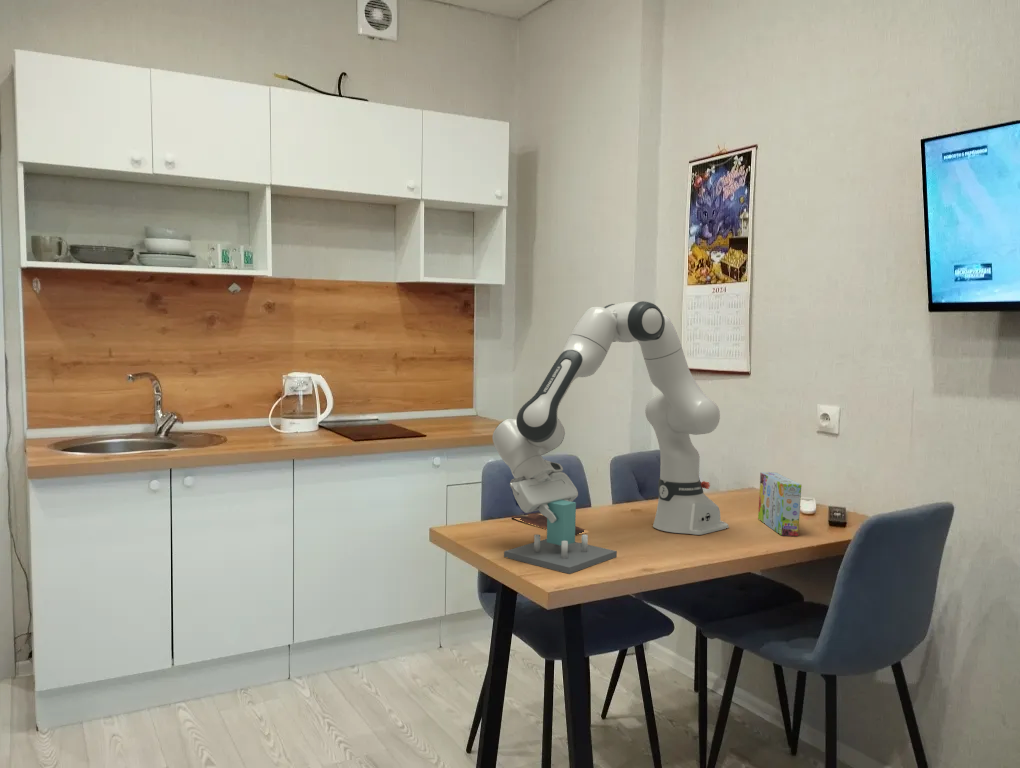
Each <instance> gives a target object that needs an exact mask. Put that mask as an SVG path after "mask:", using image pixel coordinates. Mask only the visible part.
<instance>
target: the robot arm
mask: <svg viewBox="0 0 1020 768" xmlns="http://www.w3.org/2000/svg"><path fill="white" fill-rule="evenodd" d="M614 342H617V343H632V342H638V344H639V345H640V350H641V354H642V357H643V360H644V363H645V367H646V370H647V374H648V376H649V378H650V382H651V383H652V385H653V386H655V388H657V389H658V390H659V391H660V392H661V393H660V394H656V395H653V396H652V397H650V399H648V401H647V402H646V406H645V418H646V419H647V422H649V424H650V425H651V427H652V428H653V430H654V432H655V435H656V439H657V443H658V446H659V454H660V455H659V456H660V459H659V461H660V465H659V466H660V467H659V468H660V469H659V470H660V473H659V474H660V475H659V476H660V477H659V478H658V485H657V486H658V487H657V492H658V501H657V508H656V513H655V517H654V521H653V523H652V524H653V525H652V527H653V528H655V529H657V530H659V531H662V532H663V531H664V532H667V533H673V534H674V533H675V534H690V535H696V536H701V535H706V534H710V533H714V532H717V531H721V530H726V528H727V529H728V528H729V529H730V527H729V524H728V523H727V522H725V521H723V520H721V511H720V507H719V506H718V505H717V504H716V502H714V501H713V500H712V499H710V498H709V497H708V496H707V495H706V494H705V493H704V489H706V490H708V489H710V487H711V484H710V482H708V481H705V480H703V481H700V461H701V459H700V453H699V451H698V450H697V448H695V446H694V445H693V443H692V442H693V441H692V440H691V436H690V435H693V436H697V435H706V434H710V433H712V432H714V431H715V430H716V429H717V427H718V426H719V423H720V419H721V413H720V408H719V405H717V403H715V402H714V400H712V399H711V398H710V397H709V396H707V394H706V393H705V392H704V391H703V390H702V388H701V387H700V385H699V384H698V383H697V381H696V379H695V378H694V376H693V375H692V373H691V370H690V368H689V365H688V362H687V359H686V356H685V353H684V350H683V346H682V343H681V340H680V337H679V335H678V332H677V331H676V329H675V326H674V324H673V322H672V320H671V319H670V318H669V317H668V316H667V315H666V314H663V312H662V310H661V308H659V306H657V305H656V304H655V303H652V302H650V301H645V300H644V301H624V302H619V303H611V304H608V305H606V306H592V307H589V308H588V309H587V310H585V312H584V313H583V314H582V316H581V317H580V318H579V320H578V321H577V323H576V324H575V325H574V328H573V329H572V330H571V333H570V334H569V336H568V339H567V340H566V342H565V344H564V346H563V348H562V350H561V353H560V354H559V356H558V357H557V359H556V360H555V362H554V363H553V365H552V367H551V368H550V370H549V372H548V374H547V375H546V376H545V377H544V380H543V382H542V383H541V385H540V386H539V389H537V391H536V393H535V394H534V396H532V397H531V398H529V400H528V401H527V402H525V404H523V405H522V406H521V408H520V409H519V411H518V413H517V415H516V418H507V419H504V420H502V421H501V422H500V423H498V424H497V426H496V427H495V429H494V431H493V433H492V436H491V437H492V442H493V445H494V447H495V449H496V451H497V453H498V454H499V456H500V458H501V460H502V461H503V462H504V464H505V465H506V466H507V467H508V468H509V469H510V472H511V474H512V477H513V478H512V479H511V480H510V482H509V486H510V488H511V490H512V494H513V496H514V499H515V501H516V503H517V504H518V506H519V508H520V510H521V511H522V512H523V513H525V514H528V513H529V514H530V513H532V512H537V511H539V514H540V515H544V516H545V517H547V518H548V519H549V521H550V522H551V523H555V522H557V521H558V519H559V518H558V516H557V515H556V513H553V512H552V511H550V510H549V509H548V508H549V507H548V503H551V502H555V501H559V500H565V501H570V502H574V500H576V499H577V497H578V496H579V491H578V489H577V487H576V485H575V484H574V483H573V481H572V480H571V478H570V477H569V476H568V474H566V472H563V471H564V468H563V466H562V465H561V464H560V463H558V462H554V461H550V460H547V459H544V458H543V455H545V454H549V453H550V452H552V451H553V450H556V449H557V448H559V447H560V445H562V443H563V442H564V439H565V434H566V433H565V428H564V426H563V424H562V422H561V420H560V418H559V417H558V410H559V406H560V403H562V401H563V399H564V397H565V396H566V393H567V392H568V391H569V388H570V387H571V385H572V383H573V382H574V381H575V380H576V379H578V378H587V377H591V376H593V375H595V373H596V372H597V371H598V369H599V368H600V367H601V365H602V364H603V362H604V361H605V358H606V357H607V354H608V352H609V350H610V348H611V346H612V344H613V343H614Z"/></svg>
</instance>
